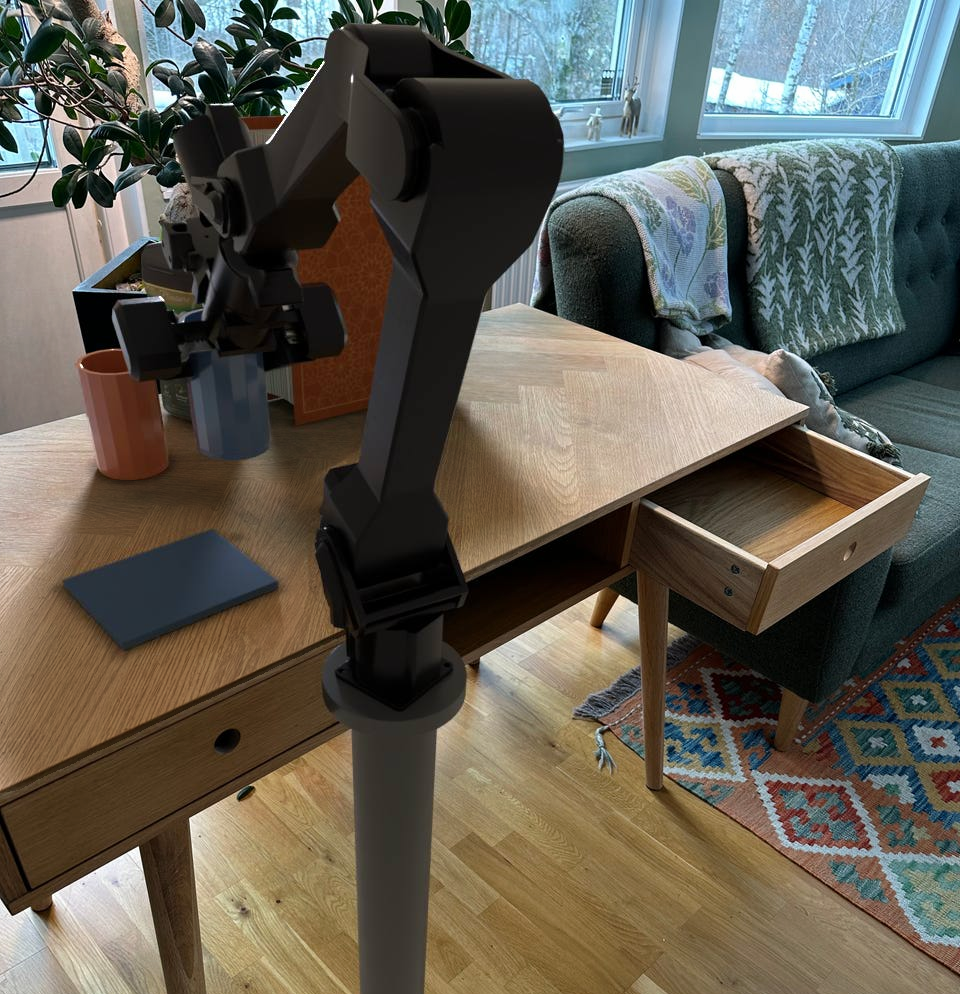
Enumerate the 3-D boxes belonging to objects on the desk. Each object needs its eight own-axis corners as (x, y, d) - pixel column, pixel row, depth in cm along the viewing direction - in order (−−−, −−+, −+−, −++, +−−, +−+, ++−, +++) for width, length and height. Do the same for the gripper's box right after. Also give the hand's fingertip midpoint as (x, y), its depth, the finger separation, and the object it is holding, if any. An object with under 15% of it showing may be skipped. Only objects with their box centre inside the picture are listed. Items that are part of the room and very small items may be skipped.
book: (296, 425, 102) (276, 130, 84) (262, 401, 107) (237, 117, 89) (452, 388, 114) (465, 123, 96) (415, 367, 119) (421, 111, 101)
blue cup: (286, 444, 86) (276, 320, 79) (231, 467, 82) (215, 338, 74) (237, 423, 89) (223, 302, 82) (181, 445, 85) (161, 318, 77)
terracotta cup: (183, 464, 93) (167, 361, 86) (126, 487, 88) (105, 380, 82) (140, 444, 96) (122, 343, 89) (83, 465, 91) (60, 361, 85)
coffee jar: (261, 411, 105) (246, 245, 94) (215, 433, 99) (194, 260, 88) (199, 391, 108) (177, 229, 97) (151, 412, 102) (122, 242, 91)
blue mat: (213, 535, 82) (212, 528, 82) (278, 588, 76) (278, 580, 76) (63, 587, 74) (61, 579, 74) (123, 651, 68) (122, 642, 68)
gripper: (329, 182, 73) (291, 284, 87) (92, 192, 65) (92, 302, 79) (371, 308, 72) (325, 390, 86) (136, 333, 64) (128, 419, 78)
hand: (222, 373), depth 82 cm, fingers closed on blue cup, 7 cm apart
